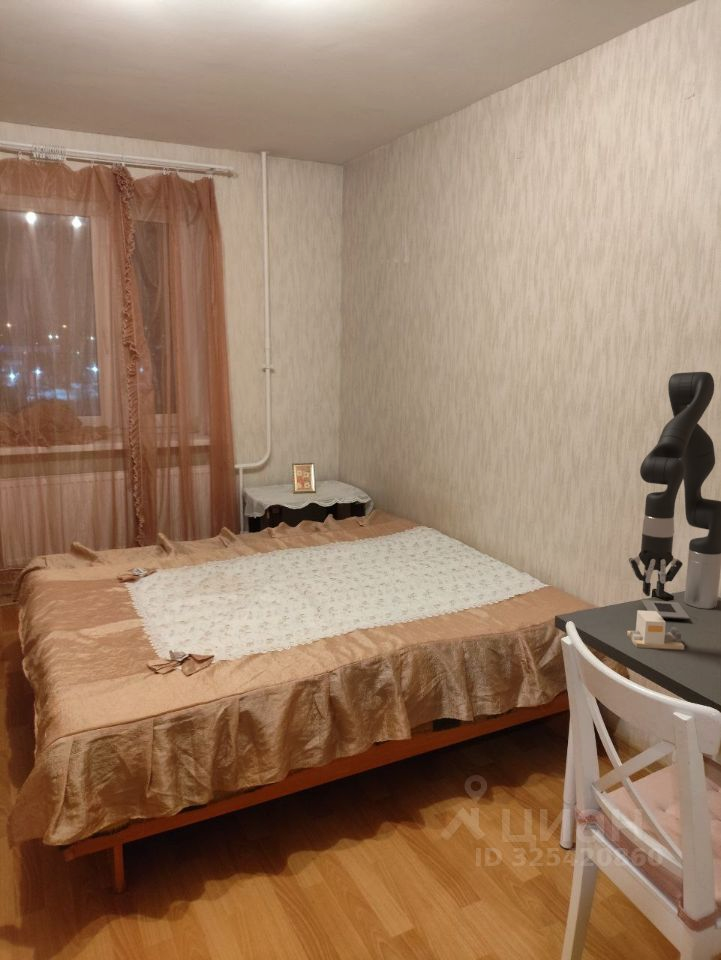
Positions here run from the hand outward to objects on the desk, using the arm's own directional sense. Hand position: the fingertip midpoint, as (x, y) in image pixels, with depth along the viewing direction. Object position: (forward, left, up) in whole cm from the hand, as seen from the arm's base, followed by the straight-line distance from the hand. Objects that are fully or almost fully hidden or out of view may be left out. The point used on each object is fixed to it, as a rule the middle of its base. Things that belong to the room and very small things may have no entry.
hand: (652, 595), depth 181 cm
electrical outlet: (-22, +11, -14) cm, 28 cm away
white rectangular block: (0, 0, -12) cm, 12 cm away
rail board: (0, +1, -13) cm, 13 cm away
